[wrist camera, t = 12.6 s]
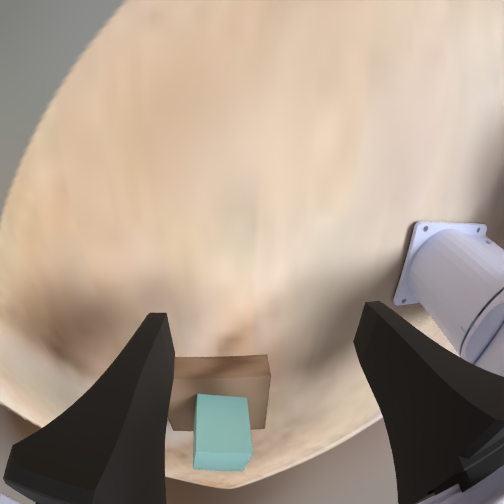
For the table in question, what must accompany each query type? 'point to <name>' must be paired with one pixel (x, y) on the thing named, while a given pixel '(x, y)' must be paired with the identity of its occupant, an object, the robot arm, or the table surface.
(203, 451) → the teal block
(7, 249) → the table surface
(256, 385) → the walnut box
